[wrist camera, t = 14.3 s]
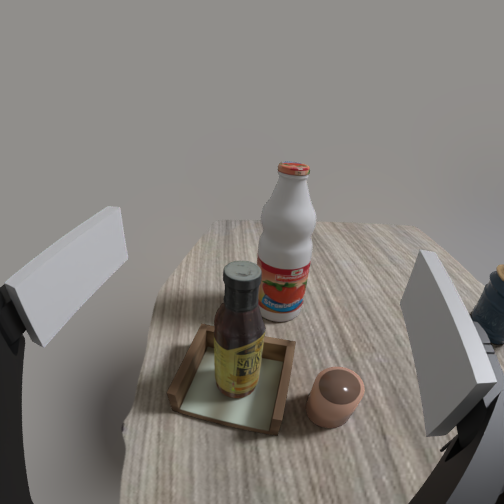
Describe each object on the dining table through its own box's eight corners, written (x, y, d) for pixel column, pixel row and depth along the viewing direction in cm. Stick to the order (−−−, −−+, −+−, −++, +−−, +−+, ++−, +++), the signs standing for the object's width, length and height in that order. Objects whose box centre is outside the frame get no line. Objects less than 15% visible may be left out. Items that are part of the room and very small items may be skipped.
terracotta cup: (343, 386, 41) (354, 362, 38) (357, 422, 35) (372, 401, 32) (300, 393, 40) (308, 369, 37) (312, 432, 34) (322, 412, 31)
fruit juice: (290, 289, 63) (307, 158, 49) (309, 317, 55) (336, 173, 41) (248, 296, 60) (255, 158, 46) (263, 327, 52) (277, 173, 38)
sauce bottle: (240, 408, 36) (245, 299, 26) (206, 385, 39) (196, 274, 29) (267, 378, 41) (282, 268, 31) (234, 359, 44) (236, 249, 34)
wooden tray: (291, 361, 46) (295, 341, 43) (277, 435, 34) (282, 420, 31) (203, 344, 48) (201, 323, 46) (172, 410, 36) (166, 392, 34)
